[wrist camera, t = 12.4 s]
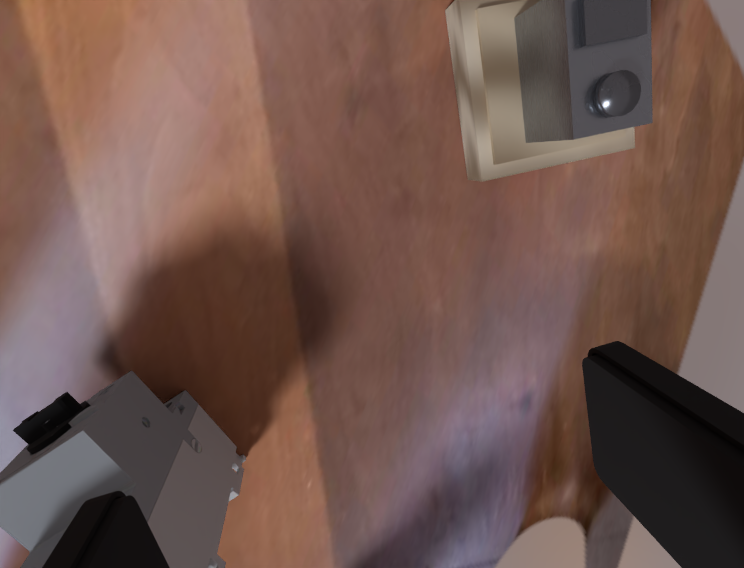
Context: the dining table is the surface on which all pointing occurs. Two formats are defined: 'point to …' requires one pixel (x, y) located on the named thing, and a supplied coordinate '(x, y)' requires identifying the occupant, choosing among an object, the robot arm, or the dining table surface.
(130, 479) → the circuit breaker
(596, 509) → the dining table surface
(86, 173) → the dining table surface
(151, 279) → the dining table surface
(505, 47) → the stand
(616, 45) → the housing
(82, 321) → the dining table surface
